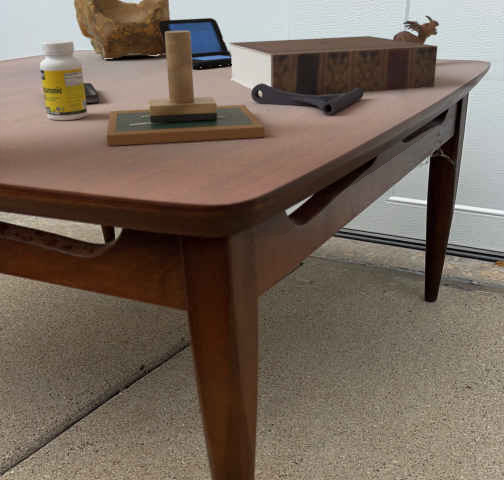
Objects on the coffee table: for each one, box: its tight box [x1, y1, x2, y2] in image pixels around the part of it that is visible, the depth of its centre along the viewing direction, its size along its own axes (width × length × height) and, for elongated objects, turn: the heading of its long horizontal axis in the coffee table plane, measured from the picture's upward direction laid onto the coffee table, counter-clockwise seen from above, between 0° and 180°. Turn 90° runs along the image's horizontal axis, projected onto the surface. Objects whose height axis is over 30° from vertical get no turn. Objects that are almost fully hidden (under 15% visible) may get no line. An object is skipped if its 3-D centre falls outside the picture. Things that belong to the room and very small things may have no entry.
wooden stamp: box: [148, 31, 218, 123], centre depth 83 cm, size 8×5×10 cm, turn 99°
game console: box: [159, 17, 232, 69], centre depth 148 cm, size 16×14×9 cm
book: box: [228, 35, 438, 95], centre depth 119 cm, size 24×28×6 cm
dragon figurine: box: [392, 15, 440, 44], centre depth 138 cm, size 14×6×9 cm, turn 136°
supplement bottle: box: [39, 40, 88, 121], centre depth 93 cm, size 5×5×10 cm
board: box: [106, 104, 266, 147], centre depth 86 cm, size 18×16×1 cm
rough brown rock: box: [73, 0, 171, 59], centre depth 163 cm, size 23×17×15 cm
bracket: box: [250, 83, 364, 116], centre depth 99 cm, size 14×15×3 cm
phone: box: [84, 82, 100, 104], centre depth 110 cm, size 8×1×15 cm
